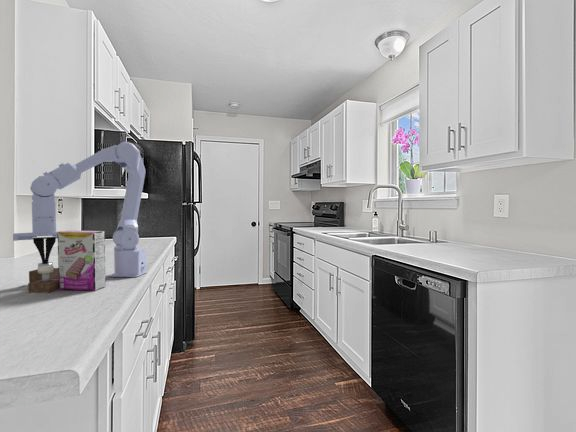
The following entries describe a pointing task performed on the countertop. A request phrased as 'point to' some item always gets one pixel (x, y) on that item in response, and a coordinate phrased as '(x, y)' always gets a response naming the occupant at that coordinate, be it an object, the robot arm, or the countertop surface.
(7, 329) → the countertop surface
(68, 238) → the candy bar box
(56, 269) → the tall socket
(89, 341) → the countertop surface
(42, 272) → the cream knob
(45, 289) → the low socket
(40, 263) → the steel knob
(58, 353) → the countertop surface
